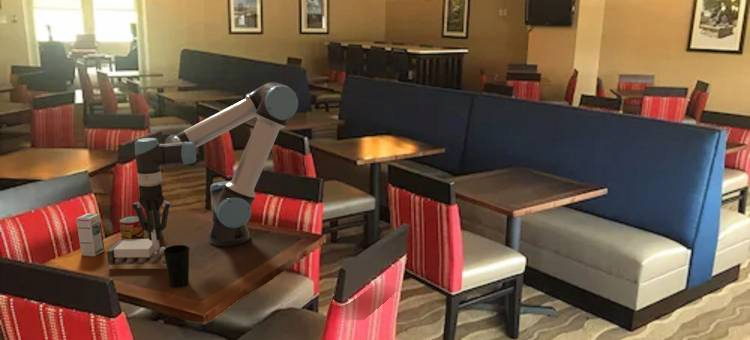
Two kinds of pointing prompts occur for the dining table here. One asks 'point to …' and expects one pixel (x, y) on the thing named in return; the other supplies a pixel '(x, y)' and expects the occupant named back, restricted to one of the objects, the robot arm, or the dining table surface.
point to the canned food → (131, 228)
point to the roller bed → (136, 260)
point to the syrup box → (90, 234)
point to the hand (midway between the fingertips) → (156, 248)
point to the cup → (177, 265)
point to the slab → (134, 248)
